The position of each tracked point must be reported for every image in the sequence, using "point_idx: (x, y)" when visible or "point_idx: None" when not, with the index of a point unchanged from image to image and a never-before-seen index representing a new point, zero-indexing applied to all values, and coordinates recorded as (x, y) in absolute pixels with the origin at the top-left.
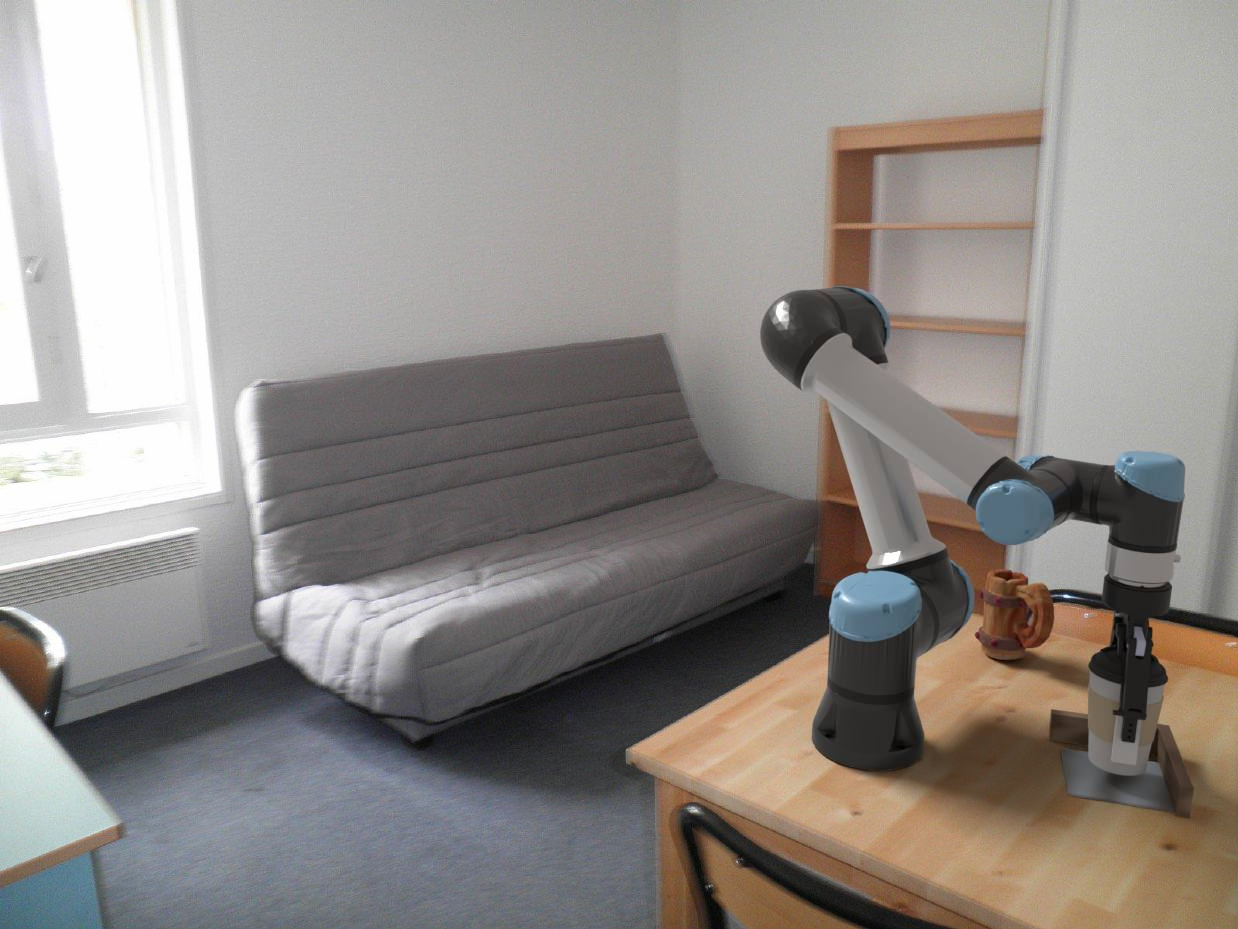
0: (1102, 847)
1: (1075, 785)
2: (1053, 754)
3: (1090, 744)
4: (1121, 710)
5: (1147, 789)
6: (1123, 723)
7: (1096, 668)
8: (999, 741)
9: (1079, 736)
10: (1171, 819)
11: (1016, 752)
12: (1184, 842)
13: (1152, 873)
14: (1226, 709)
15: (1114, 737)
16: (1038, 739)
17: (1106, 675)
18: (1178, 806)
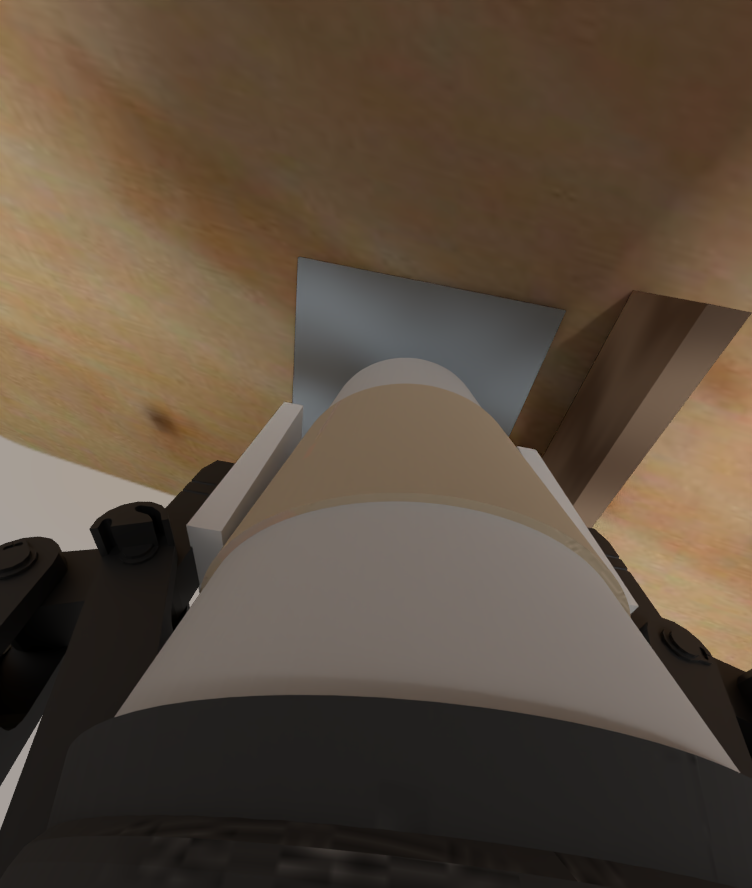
0: (80, 280)
1: (346, 293)
2: (540, 279)
3: (399, 371)
4: (6, 567)
5: None
6: (180, 514)
7: (231, 849)
8: (675, 54)
9: (601, 382)
10: None
11: (569, 127)
12: (191, 452)
13: (43, 360)
14: None
15: (252, 446)
16: (648, 252)
17: (92, 804)
18: None
